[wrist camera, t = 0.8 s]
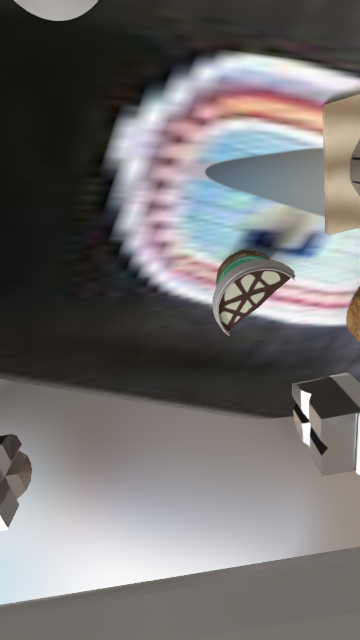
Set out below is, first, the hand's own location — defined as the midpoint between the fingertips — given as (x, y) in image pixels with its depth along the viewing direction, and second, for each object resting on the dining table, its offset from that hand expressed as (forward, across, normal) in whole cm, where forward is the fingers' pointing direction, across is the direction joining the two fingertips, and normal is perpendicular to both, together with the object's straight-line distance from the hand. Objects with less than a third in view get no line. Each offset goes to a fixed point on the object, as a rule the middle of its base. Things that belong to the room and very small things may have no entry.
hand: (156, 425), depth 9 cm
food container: (+40, -10, +6) cm, 42 cm away
